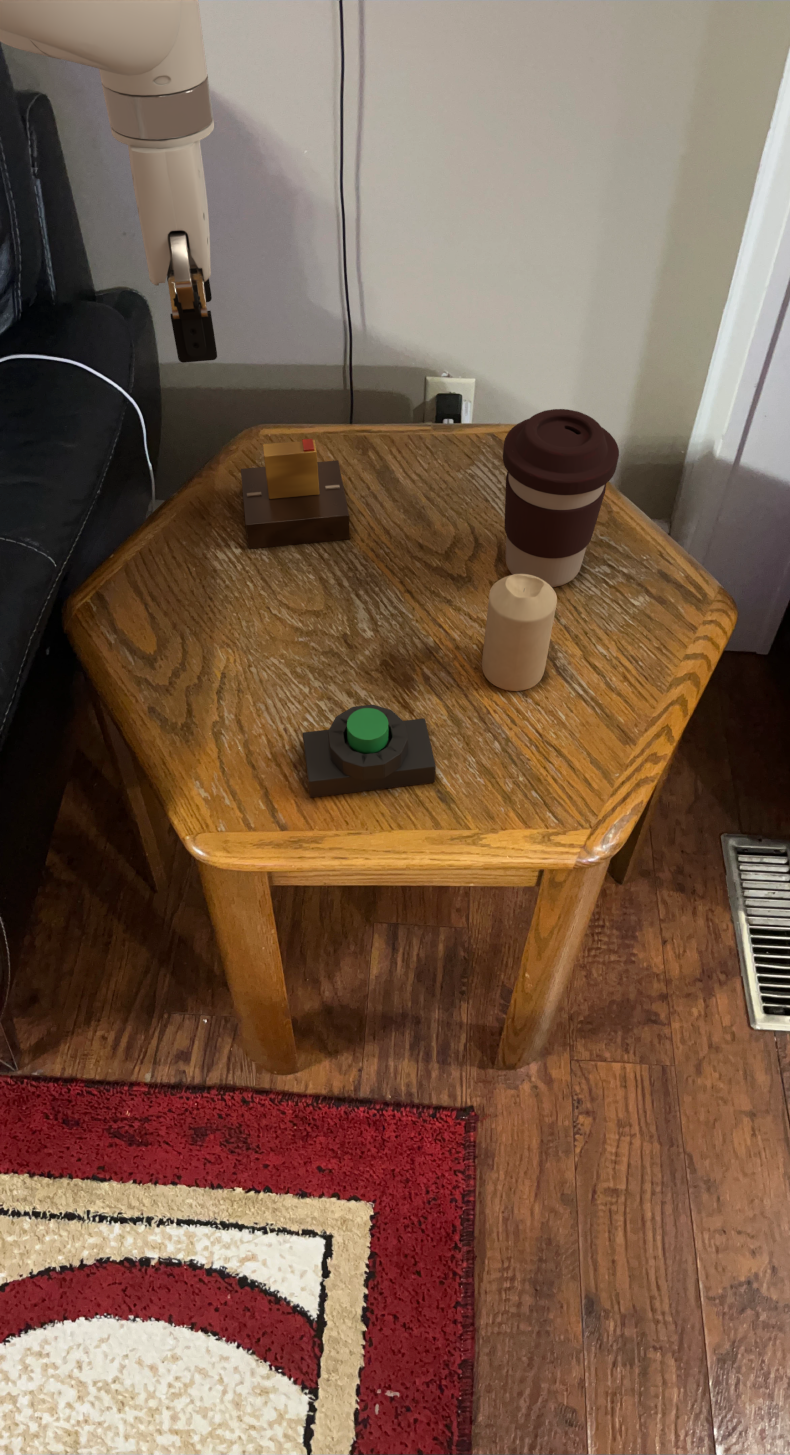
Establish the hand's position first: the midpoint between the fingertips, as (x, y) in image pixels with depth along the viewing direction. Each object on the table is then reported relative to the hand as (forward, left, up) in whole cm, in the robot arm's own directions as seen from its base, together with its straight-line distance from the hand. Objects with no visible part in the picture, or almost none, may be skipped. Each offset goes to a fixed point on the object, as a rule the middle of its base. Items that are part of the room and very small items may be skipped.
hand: (196, 329), depth 84 cm
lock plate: (+7, -2, -20) cm, 21 cm away
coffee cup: (+30, -13, -20) cm, 38 cm away
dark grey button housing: (+10, -34, -20) cm, 41 cm away
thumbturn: (+7, -2, -17) cm, 18 cm away
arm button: (+10, -34, -16) cm, 39 cm away
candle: (+24, -26, -20) cm, 40 cm away
